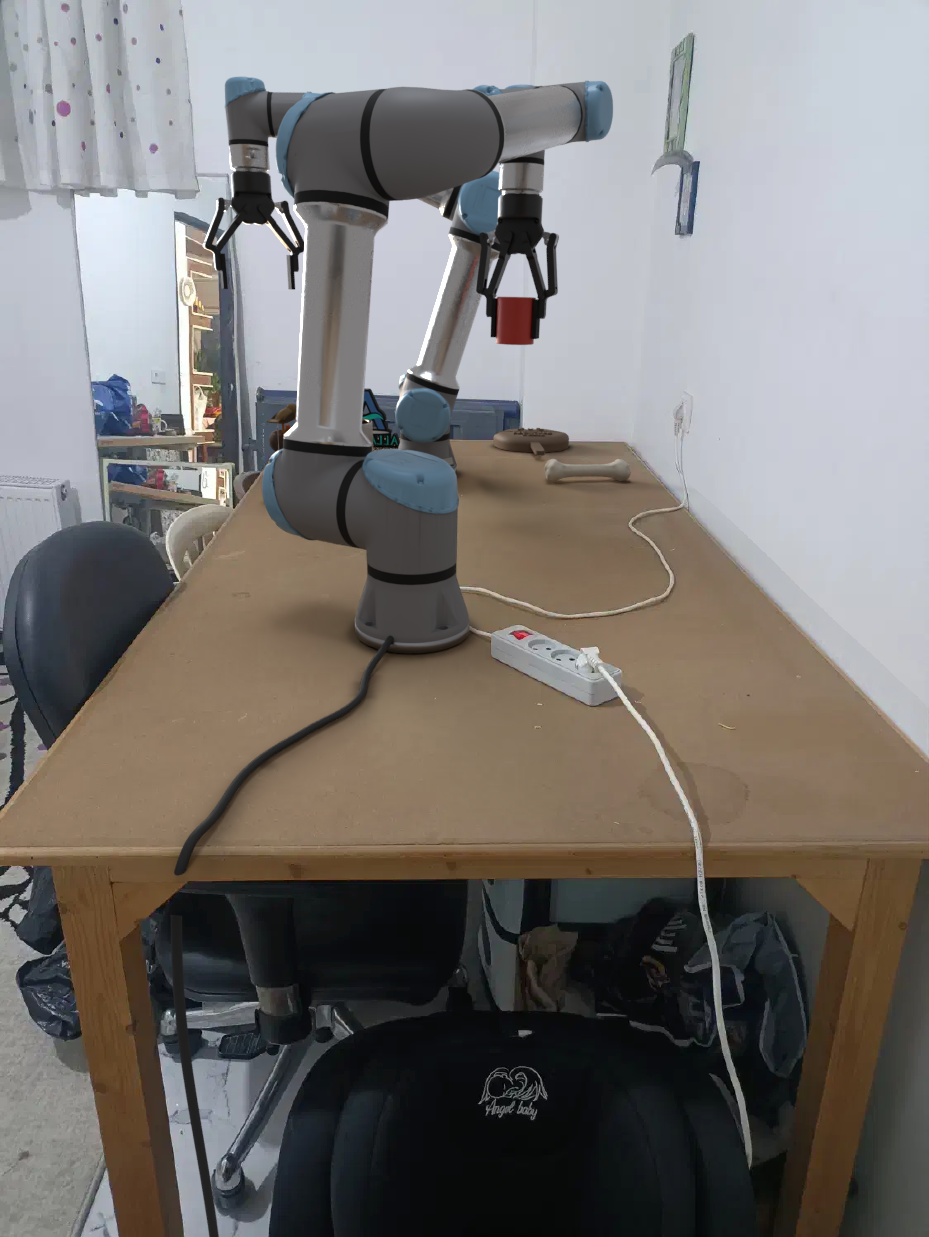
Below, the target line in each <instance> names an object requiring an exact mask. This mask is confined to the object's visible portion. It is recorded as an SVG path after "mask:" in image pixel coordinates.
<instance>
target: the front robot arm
mask: <svg viewBox="0 0 929 1237" xmlns="http://www.w3.org/2000/svg"><path fill="white" fill-rule="evenodd" d="M613 117H614V100H613V94H612V90H611V88H610V86H609V85H608V84H607V83H606V81H603V80H590V81H589V80H584V81H578V82H570V83H569V82H568V83H566V82H565V83H559V84H550V85H549V84H548V85H538V86H537V85H533V84H513V85H508V86H506V87H505V88H499V87H497V86H495V85H488V84H481V85H477V86H475V87H474V88H472V89H468V88H466V89H440V88H431V87H430V88H429V87H422V86H421V87H419V86H417V87H416V86H394V87H389V88H379V89H378V88H377V89H368V90H358V91H357V90H356V91H355V90H354V91H345V92H333V91H329V92H321V93H320V95H317V96H314V97H308V98H304V99H302V100H300V101H298V102H297V103H296V104H295V105H294V106H293V107H291V108H290V109H289V110H288V111H287V113H286V114H285V116H284V118H283V120H282V122H281V124H280V127H279V130H278V135H277V138H276V139H275V140H276V141H275V164H276V169H277V172H278V174H280V175H281V176H282V177H281V179H280V182H281V184H282V186H283V188H284V190H285V191H286V193H287V194H288V195H289V196H290V197H291V199H293V211H294V213H295V215H296V216H297V217H298V218H299V219H300V221H301V223H303V225H304V228H305V230H304V231H305V232H304V243H305V248H304V252H303V269H302V270H303V272H302V288H301V289H302V292H301V310H300V311H301V312H300V329H299V330H300V332H299V351H298V372H297V373H298V374H297V393H296V406H297V409H296V421H295V423H294V424H293V426H292V427H290V428H291V429H290V430H289V431H288V432H287V433H285V434H284V436H283V449H281V450H279V451H277V452H276V451H274V453H273V454H272V455H271V456H270V458H269V459H268V461H269V464H266V465H265V467H264V470H263V472H262V480H261V494H262V499H263V504H264V507H265V510H266V511H267V514H268V516H269V517H270V519H271V520H272V522H274V523H275V525H276V526H277V527H278V528H279V529H280V530H282V531H284V532H286V533H287V534H290V535H293V536H297V537H300V538H301V539H304V540H307V541H319V542H326V543H330V544H335V545H340V546H345V547H349V548H355V549H361V550H364V551H366V579H365V584H364V586H363V589H362V592H361V596H360V600H359V602H358V606H357V609H356V612H355V618H354V633H355V636H356V638H357V639H358V640H359V641H360V642H362V643H363V644H365V645H367V646H368V647H371V648H374V649H377V651H376V653H375V655H373V657H372V659H371V660H370V662H369V663H368V665H367V666H366V668H365V669H364V671H363V674H362V676H361V679H360V684H359V689H358V690H357V693H356V695H355V696H354V697H353V699H352V700H350V702H348V703H347V704H346V705H344V706H343V707H341V708H339V709H337V710H335V711H334V712H332V713H330V714H328V715H326V716H324V717H322V718H319V719H318V720H316V721H314V722H312V723H310V724H308V725H307V726H305V727H303V728H301V729H300V730H298V731H297V732H295V733H292V734H291V735H289V736H288V737H286V738H284V739H282V740H281V741H278V742H277V743H275V744H274V745H273V746H270V747H269V748H267V749H266V750H264V751H263V752H262V753H260V754H259V755H257V756H256V757H255V758H254V759H252V760H251V761H250V762H249V763H248V764H247V765H246V766H244V767H243V769H242V770H241V771H240V772H239V773H238V774H237V775H236V776H235V778H234V779H233V780H232V781H231V783H230V784H229V786H228V787H227V789H226V790H225V791H224V793H223V794H222V796H221V798H220V799H219V800H218V802H217V803H216V805H215V806H214V808H213V809H212V811H210V813H209V814H208V816H206V817H205V819H204V820H203V821H202V822H201V823H199V824H198V825H197V827H195V828H194V829H193V830H192V831H191V833H189V836H188V837H187V838H186V840H185V842H184V843H183V846H182V848H181V849H180V852H179V855H178V857H177V860H176V864H175V868H174V872H173V874H174V876H181V875H183V874H185V873H186V871H187V869H188V866H189V862H190V859H191V857H192V855H193V851H194V849H195V847H196V846H197V844H198V842H199V841H200V839H201V838H202V837H203V836H204V835H205V834H206V833H207V832H208V831H209V830H210V829H211V828H212V827H213V826H214V825H215V824H217V821H219V819H220V818H221V817H222V815H223V814H224V813H225V811H226V809H227V808H228V806H229V805H230V803H231V802H232V800H233V798H234V797H235V795H236V794H237V792H238V791H239V789H240V787H241V786H242V785H243V783H244V782H245V781H246V780H247V778H249V776H251V774H252V773H253V772H255V771H256V770H257V769H258V768H259V767H260V766H262V765H264V763H266V762H267V761H268V760H269V759H270V760H271V758H272V757H274V756H275V755H277V754H279V753H281V752H282V751H284V750H285V749H287V748H289V747H290V746H293V745H295V744H296V743H298V742H300V741H301V740H303V739H304V738H306V737H308V736H309V735H311V734H313V733H315V732H316V731H318V730H320V729H322V728H324V727H326V726H327V725H329V724H332V723H334V722H336V721H337V720H339V719H341V718H343V717H345V716H347V715H348V714H349V713H351V712H352V711H353V710H354V709H356V708H357V706H359V705H360V704H361V703H362V701H363V700H364V698H365V696H366V694H367V690H368V687H369V686H368V685H369V680H370V678H371V675H372V673H373V672H374V670H375V669H376V667H377V666H378V664H379V663H380V661H381V660H382V658H383V657H384V656H385V655H386V653H387V652H390V653H396V654H397V653H398V654H425V653H433V652H439V651H443V650H446V649H449V648H452V647H455V646H457V645H458V644H460V643H462V642H463V641H464V640H466V639H467V637H468V636H469V634H470V616H469V612H468V608H467V606H466V601H465V599H464V596H463V593H462V589H461V586H460V583H459V581H458V577H457V561H458V560H457V559H458V558H457V557H458V518H459V517H458V514H459V510H458V508H459V504H460V497H459V491H458V478H457V475H456V473H455V471H454V470H453V468H452V467H451V466H450V464H448V463H447V462H446V461H444V460H443V459H440V458H438V457H436V456H433V455H430V454H427V453H423V452H418V451H413V450H399V449H398V448H383V449H376V450H374V451H373V452H372V443H371V442H370V440H369V439H368V438H367V437H366V436H365V434H364V433H363V431H362V417H363V414H364V412H363V402H364V388H365V386H366V369H367V355H368V341H369V340H368V339H369V327H370V326H369V325H370V324H369V323H370V312H371V310H370V309H371V297H372V283H373V281H372V280H373V267H374V266H373V265H374V252H375V237H376V236H377V235H378V233H379V232H381V230H382V229H384V228H385V227H386V226H387V225H388V223H389V215H390V214H389V213H390V203H391V202H393V201H395V202H396V201H411V200H419V199H418V198H422V197H426V196H430V195H433V194H437V193H440V192H442V191H445V190H448V189H451V188H454V187H457V186H459V185H462V184H465V183H468V182H470V181H473V180H477V179H480V178H482V177H484V176H486V175H488V174H489V173H490V172H492V171H495V169H496V167H497V166H499V167H498V172H499V189H498V190H499V191H500V192H502V195H500V197H499V198H498V222H497V226H496V228H495V230H494V231H491V232H487V233H484V232H482V233H480V235H479V238H480V243H481V253H480V262H479V270H478V278H477V287H476V292H477V293H479V294H482V296H484V297H485V299H486V300H485V315H486V318H490V338H496V321H497V297H498V295H497V293H498V290H499V288H500V285H501V282H502V280H503V277H504V274H505V271H506V269H507V265H508V263H509V260H510V259H511V257H512V255H518V254H520V255H525V257H526V260H527V263H528V266H529V270H530V274H531V277H532V280H533V284H534V287H535V288H534V289H535V292H536V295H537V298H536V299H534V300H533V319H532V339H534V340H538V339H540V328H541V327H540V325H541V320H544V319H545V318H546V316H547V303H548V302H547V301H548V300H549V298H552V297H553V296H557V294H559V293H558V292H559V287H558V264H557V246H558V244H559V240H560V235H559V234H558V233H556V232H549V231H545V229H544V227H543V221H542V219H543V203H544V202H543V200H544V198H543V196H542V195H540V194H541V193H543V192H544V183H545V181H544V180H545V154H546V153H545V152H546V150H548V149H552V148H555V147H558V146H564V145H567V144H572V143H580V142H581V143H582V142H585V143H589V142H591V141H600V140H603V139H604V138H606V137H607V136H608V134H609V132H610V131H611V128H612V123H613V119H614V118H613ZM495 238H497V239H498V241H499V243H500V244H501V246H502V247H501V250H500V253H499V258H497V260H496V264H495V267H494V269H493V272H492V274H491V278H490V280H489V275H488V273H489V274H490V272H489V265H490V257H491V245H493V243H494V239H495ZM542 239H543V244H544V246H546V248H545V251H546V255H545V256H546V274H547V276H546V277H547V288H546V283H545V280H544V277H543V273H542V270H541V266H540V262H539V259H538V253H537V249H536V247H537V245H538V244H539V243H540V242H541V240H542ZM488 280H489V284H488ZM170 953H171V954H170V957H171V958H170V960H171V975H172V976H171V978H172V992H173V995H172V996H173V1006H174V1015H175V1024H176V1025H175V1027H176V1036H177V1043H178V1051H179V1058H180V1064H181V1070H182V1071H181V1072H182V1078H183V1079H182V1080H183V1085H184V1090H185V1097H186V1103H187V1109H188V1115H189V1120H190V1121H189V1122H190V1126H191V1132H192V1133H191V1134H192V1138H193V1143H194V1144H193V1145H194V1150H195V1156H196V1160H197V1161H196V1162H197V1167H198V1174H199V1179H200V1185H201V1192H202V1197H203V1204H204V1209H205V1210H204V1211H205V1216H206V1217H205V1218H206V1223H207V1231H208V1237H220V1235H219V1228H218V1226H219V1225H218V1219H217V1213H216V1206H215V1200H214V1194H213V1186H212V1180H211V1173H210V1169H209V1162H208V1156H207V1155H208V1154H207V1150H206V1143H205V1139H204V1131H203V1126H202V1120H201V1113H200V1108H199V1107H200V1106H199V1102H198V1094H197V1088H196V1082H195V1074H194V1067H193V1060H192V1053H191V1046H190V1038H189V1028H188V1019H187V1018H188V1017H187V1009H186V1008H187V1007H186V994H185V979H184V960H183V958H184V957H183V915H179V914H170Z"/></svg>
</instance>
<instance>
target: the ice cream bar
mask: <svg viewBox="0 0 929 1237" xmlns="http://www.w3.org/2000/svg"><path fill="white" fill-rule="evenodd" d="M492 441H493V443H492V444H493V447H495V448H497V449H500V450H504V451H511V452H523V453H533V454H534V455H535V456H539V457H541V456H545V453H552V452H553V453H554V452H560V451H564V450H567V449H568V448H569V446H570V436H569V435H568V434H567V433H566V432H563V431H559V430H554V429H547V428H541V427H536V428H533V427H532V428H530V427H528V428H527V429H526V428H525V427H520V428H511V429H505V430H502V431H498V432H496V433H495V434H494V436H493V440H492Z"/></svg>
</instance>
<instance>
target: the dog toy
mask: <svg viewBox="0 0 929 1237" xmlns="http://www.w3.org/2000/svg"><path fill="white" fill-rule="evenodd" d="M543 469H544V475H545V480H546V481H547V482H559V481H560V480H562V479H567V478H579V477H580V478H583V477H584V478H585V477H586V478H589V477H590V478H591V477H596V478H600V477H601V478H611V479H613V480H616V481H618V482H622V481H626V480H629V479H630V477H631V474H632V471H631V468H630V464H629V463H628V462H627V461H625V460H624V459H623V458H616V459H615V460H614V461H612V462H609V463H601V464H599V463H598V464H590V463H589V464H587V463H586V464H584V463H583V464H568V463H562V462H560V461H559V460H558V459H556V458H551V459H548V460H547V461H546V462H545V465H544V467H543Z"/></svg>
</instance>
